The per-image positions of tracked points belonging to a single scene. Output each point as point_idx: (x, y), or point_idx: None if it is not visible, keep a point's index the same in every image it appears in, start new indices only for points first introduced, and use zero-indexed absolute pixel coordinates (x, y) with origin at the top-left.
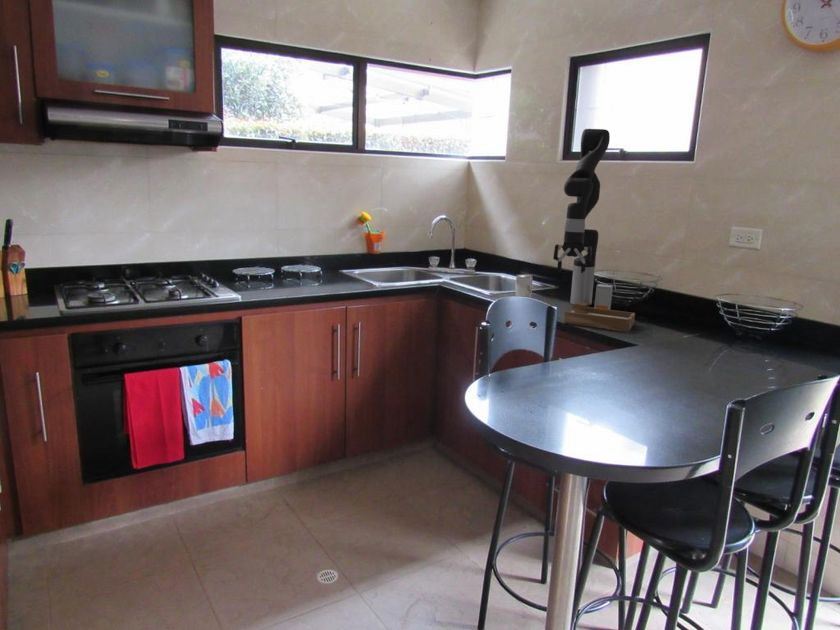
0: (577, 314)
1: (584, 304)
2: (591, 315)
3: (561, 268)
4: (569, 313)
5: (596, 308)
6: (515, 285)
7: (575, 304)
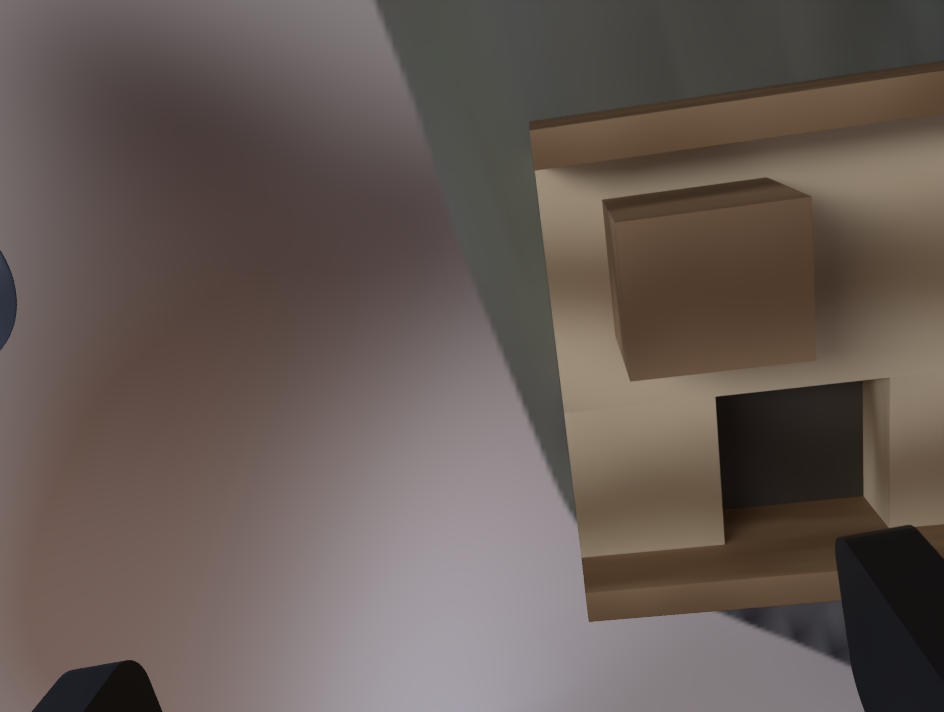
0: (749, 600)
1: (777, 326)
2: None
3: (95, 698)
4: (646, 609)
5: (914, 98)
6: None
7: (641, 377)
